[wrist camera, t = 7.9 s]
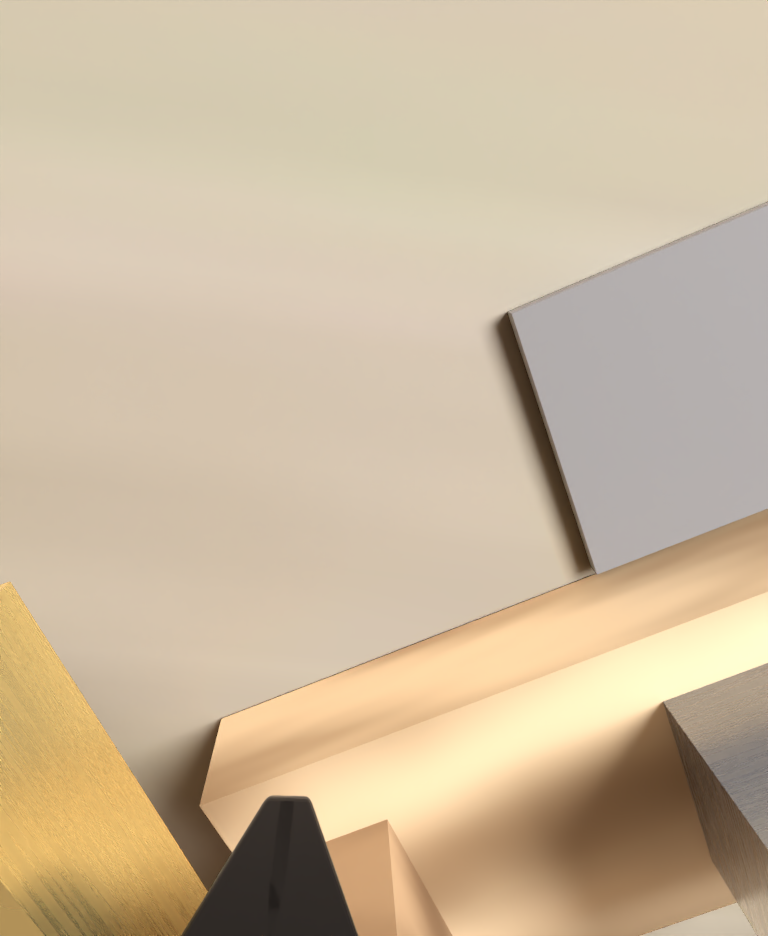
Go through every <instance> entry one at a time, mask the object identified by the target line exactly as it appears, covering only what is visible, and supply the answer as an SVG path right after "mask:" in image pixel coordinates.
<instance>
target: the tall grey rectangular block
mask: <svg viewBox="0 0 768 936" xmlns="http://www.w3.org/2000/svg"><path fill="white" fill-rule="evenodd" d="M663 704H664V707H665V710H666V713H667V717H668V720H669V723H670V726H671V730H672V733H673V736H674V739H675V743H676V746H677V749H678V752H679V756H680V759H681V762H682V765H683V768H684V772H685V775H686V778H687V781H688V785H689V788H690V791H691V794H692V798H693V801H694V804H695V807H696V810H697V814H698V817H699V820H700V823H701V827H702V830H703V833H704V836H705V840H706V843H707V846H708V849H709V853H710V856H711V859H712V862H713V863H714V865H715V867H716V868H717V870H718V871H719V873H720V875H721V876H722V878H723V880H724V881H725V883H726V885H727V886H728V888H729V890H730V891H731V893H732V895H733V896H734V898H735V900H736V901H737V903H738V904H739V906H740V908H741V909H742V911H743V913H744V914H745V916H746V918H747V919H748V921H749V923H750V924H751V926H752V928H753V929H754V931H755V933H756V934H757V936H768V663H766V664H763V665H761V666H758V667H755V668H752V669H750V670H747V671H744V672H742V673H739V674H736V675H733V676H731V677H728V678H725V679H723V680H720V681H717V682H714V683H712V684H709V685H706V686H704V687H701V688H698V689H696V690H693V691H690V692H687V693H685V694H682V695H679V696H677V697H674V698H671V699H668V700H666V701H663Z"/></svg>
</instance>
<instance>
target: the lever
mask: <svg viewBox="0 0 768 936" xmlns="http://www.w3.org/2000/svg"><path fill="white" fill-rule="evenodd" d="M207 892H208V891H207V890H206V888H205V886H204V885H203V883H202V882H201V880H200V879H199V877H198V875H197V874H196V872H195V871H194V869H193V868H192V866H191V864H190V863H189V861H188V860H187V858H186V857H185V855H184V853H183V852H182V850H181V849H180V847H179V846H178V844H177V842H176V841H175V839H174V838H173V836H172V835H171V833H170V832H169V830H168V828H167V827H166V825H165V824H164V822H163V821H162V819H161V817H160V816H159V814H158V813H157V811H156V810H155V808H154V806H153V805H152V803H151V802H150V800H149V799H148V797H147V795H146V794H145V792H144V791H143V789H142V788H141V786H140V784H139V783H138V781H137V780H136V778H135V777H134V775H133V773H132V772H131V770H130V769H129V767H128V766H127V764H126V762H125V761H124V759H123V758H122V756H121V755H120V753H119V752H118V750H117V748H116V747H115V745H114V744H113V742H112V741H111V739H110V737H109V736H108V734H107V733H106V731H105V730H104V728H103V726H102V725H101V723H100V722H99V720H98V719H97V717H96V715H95V714H94V712H93V711H92V709H91V708H90V706H89V704H88V703H87V701H86V700H85V698H84V697H83V695H82V693H81V692H80V690H79V689H78V687H77V686H76V684H75V682H74V681H73V679H72V678H71V676H70V675H69V673H68V672H67V670H66V668H65V667H64V665H63V664H62V662H61V661H60V659H59V657H58V656H57V654H56V653H55V651H54V650H53V648H52V646H51V645H50V643H49V642H48V640H47V639H46V637H45V635H44V634H43V632H42V631H41V629H40V628H39V626H38V624H37V623H36V621H35V620H34V618H33V617H32V615H31V613H30V612H29V610H28V609H27V607H26V606H25V604H24V602H23V601H22V599H21V598H20V596H19V595H18V593H17V592H16V590H15V588H14V587H13V585H12V584H11V582H7V583H4V584H1V585H0V936H181V934H182V933H183V931H184V929H185V928H186V926H187V924H188V923H189V921H190V920H191V918H192V916H193V915H194V913H195V912H196V910H197V908H198V907H199V905H200V903H201V902H202V900H203V899H204V897H205V895H206V894H207Z"/></svg>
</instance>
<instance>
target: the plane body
mask: <svg viewBox="0 0 768 936" xmlns="http://www.w3.org/2000/svg"><path fill="white" fill-rule="evenodd" d="M766 663H768V509H765V510H763V511H760V512H758V513H755V514H752V515H750V516H747V517H745V518H742V519H740V520H737V521H734V522H732V523H729V524H727V525H724V526H721V527H719V528H716V529H714V530H711V531H709V532H706V533H703V534H701V535H698V536H696V537H693V538H690V539H688V540H685V541H683V542H680V543H678V544H675V545H672V546H670V547H667V548H665V549H662V550H659V551H657V552H654V553H652V554H649V555H646V556H644V557H641V558H639V559H636V560H634V561H631V562H628V563H626V564H623V565H621V566H618V567H615V568H613V569H610V570H608V571H605V572H603V573H600V574H594V575H592V576H589V577H587V578H584V579H581V580H579V581H576V582H574V583H571V584H569V585H566V586H563V587H561V588H558V589H556V590H553V591H550V592H548V593H545V594H543V595H540V596H538V597H535V598H532V599H530V600H527V601H525V602H522V603H519V604H517V605H514V606H512V607H509V608H506V609H504V610H501V611H499V612H496V613H494V614H491V615H488V616H486V617H483V618H481V619H478V620H475V621H473V622H470V623H468V624H465V625H463V626H460V627H457V628H455V629H452V630H450V631H447V632H444V633H442V634H439V635H437V636H434V637H432V638H429V639H426V640H424V641H421V642H419V643H416V644H413V645H411V646H408V647H406V648H403V649H401V650H398V651H395V652H393V653H390V654H388V655H385V656H382V657H380V658H377V659H375V660H372V661H370V662H367V663H364V664H362V665H359V666H357V667H354V668H351V669H349V670H346V671H344V672H341V673H339V674H336V675H333V676H331V677H328V678H326V679H323V680H320V681H318V682H315V683H313V684H310V685H308V686H305V687H302V688H300V689H297V690H295V691H292V692H289V693H287V694H284V695H282V696H279V697H277V698H274V699H271V700H269V701H266V702H264V703H261V704H258V705H256V706H253V707H251V708H248V709H246V710H243V711H240V712H238V713H235V714H233V715H230V716H227V717H225V718H222V719H221V722H220V726H219V730H218V734H217V738H216V742H215V746H214V750H213V754H212V758H211V762H210V766H209V770H208V774H207V778H206V782H205V786H204V790H203V794H202V798H201V802H200V808H201V809H202V811H203V812H204V813H205V815H206V816H207V818H208V819H209V820H210V822H211V823H212V825H213V826H214V828H215V829H216V830H217V832H218V833H219V835H220V836H221V837H222V839H223V840H224V842H225V843H226V845H227V846H228V847H229V849H230V850H231V852H233V850H234V849H235V847H236V845H237V844H238V842H239V840H240V839H241V837H242V836H243V834H244V832H245V831H246V829H247V828H248V826H249V824H250V823H251V821H252V819H253V818H254V816H255V815H256V813H257V811H258V810H259V808H260V807H261V805H262V803H263V802H264V801H265V799H266V798H267V797H269V796H272V795H283V796H307V797H308V798H310V800H311V802H312V804H313V807H314V810H315V812H316V815H317V818H318V821H319V824H320V827H321V830H322V832H323V835H324V838H325V841H326V844H327V847H328V850H329V853H330V855H331V858H332V861H333V864H334V867H335V870H336V873H337V875H338V878H339V881H340V884H341V887H342V890H343V893H344V895H345V898H346V901H347V904H348V907H349V910H350V913H351V916H352V918H353V921H354V924H355V927H356V930H357V933H358V936H640V935H643V934H646V933H649V932H652V931H655V930H658V929H661V928H663V927H666V926H669V925H672V924H675V923H678V922H681V921H684V920H687V919H690V918H693V917H696V916H698V915H701V914H704V913H707V912H710V911H713V910H716V909H719V908H722V907H725V906H728V905H731V904H734V903H736V902H737V901H736V900H735V898H734V896H733V895H732V893H731V891H730V890H729V888H728V886H727V885H726V883H725V881H724V880H723V878H722V876H721V875H720V873H719V871H718V870H717V868H716V867H715V865H714V863H713V862H712V859H711V856H710V853H709V849H708V846H707V843H706V840H705V836H704V833H703V830H702V827H701V823H700V820H699V817H698V814H697V810H696V807H695V804H694V801H693V798H692V794H691V791H690V788H689V785H688V781H687V778H686V775H685V772H684V768H683V765H682V762H681V759H680V756H679V752H678V749H677V746H676V743H675V739H674V736H673V733H672V730H671V726H670V723H669V720H668V717H667V713H666V710H665V707H664V704H663V701H666V700H668V699H671V698H674V697H677V696H679V695H682V694H685V693H687V692H690V691H693V690H696V689H698V688H701V687H704V686H706V685H709V684H712V683H714V682H717V681H720V680H723V679H725V678H728V677H731V676H733V675H736V674H739V673H742V672H744V671H747V670H750V669H752V668H755V667H758V666H761V665H763V664H766Z"/></svg>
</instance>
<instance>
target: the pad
mask: <svg viewBox="0 0 768 936" xmlns="http://www.w3.org/2000/svg"><path fill="white" fill-rule="evenodd" d="M508 315H509V319H510V322H511V325H512V328H513V331H514V334H515V337H516V340H517V343H518V346H519V349H520V352H521V355H522V358H523V361H524V364H525V367H526V370H527V373H528V376H529V379H530V382H531V385H532V388H533V391H534V394H535V397H536V401H537V404H538V407H539V410H540V413H541V416H542V419H543V422H544V425H545V428H546V431H547V434H548V437H549V440H550V443H551V446H552V449H553V452H554V455H555V458H556V461H557V464H558V467H559V470H560V473H561V476H562V479H563V483H564V486H565V489H566V492H567V495H568V498H569V501H570V504H571V507H572V510H573V513H574V516H575V519H576V522H577V525H578V528H579V531H580V534H581V537H582V540H583V543H584V546H585V549H586V552H587V555H588V558H589V561H590V565H591V568H592V569H593V570H594V571H595V573H596V574H600V573H603V572H605V571H608V570H610V569H613V568H615V567H618V566H621V565H623V564H626V563H628V562H631V561H634V560H636V559H639V558H641V557H644V556H646V555H649V554H652V553H654V552H657V551H659V550H662V549H665V548H667V547H670V546H672V545H675V544H678V543H680V542H683V541H685V540H688V539H690V538H693V537H696V536H698V535H701V534H703V533H706V532H709V531H711V530H714V529H716V528H719V527H721V526H724V525H727V524H729V523H732V522H734V521H737V520H740V519H742V518H745V517H747V516H750V515H752V514H755V513H758V512H760V511H763V510H765V509H768V202H766V203H764V204H761V205H759V206H757V207H754V208H752V209H750V210H747V211H745V212H742V213H740V214H738V215H735V216H733V217H731V218H728V219H726V220H724V221H721V222H719V223H716V224H714V225H712V226H709V227H707V228H705V229H702V230H700V231H697V232H695V233H693V234H690V235H688V236H686V237H683V238H681V239H679V240H676V241H674V242H671V243H669V244H667V245H664V246H662V247H660V248H657V249H655V250H653V251H650V252H648V253H645V254H643V255H641V256H638V257H636V258H634V259H631V260H629V261H626V262H624V263H622V264H619V265H617V266H615V267H612V268H610V269H608V270H605V271H603V272H600V273H598V274H596V275H593V276H591V277H589V278H586V279H584V280H581V281H579V282H577V283H574V284H572V285H570V286H567V287H565V288H563V289H560V290H558V291H555V292H553V293H551V294H548V295H546V296H544V297H541V298H539V299H537V300H534V301H532V302H529V303H527V304H525V305H522V306H520V307H518V308H515V309H513V310H510V311H508Z"/></svg>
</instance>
